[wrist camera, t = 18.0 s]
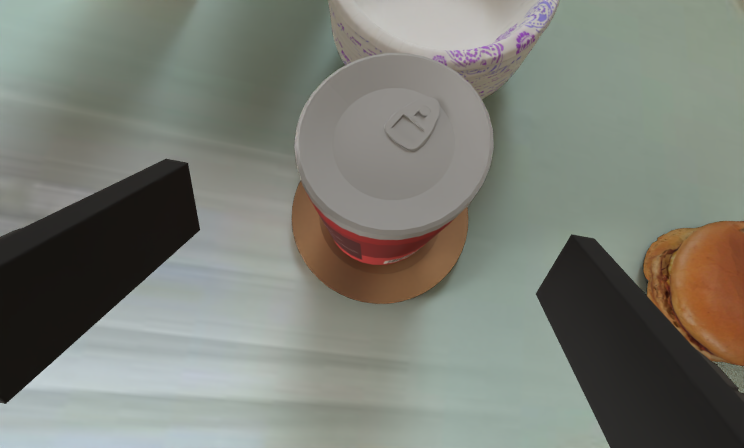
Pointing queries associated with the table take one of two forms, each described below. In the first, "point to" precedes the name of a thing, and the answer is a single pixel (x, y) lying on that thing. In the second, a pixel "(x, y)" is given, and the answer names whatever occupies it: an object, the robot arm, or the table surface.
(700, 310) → the burger
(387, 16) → the paper bowls
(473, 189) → the canned food
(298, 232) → the plate
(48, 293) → the robot arm
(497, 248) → the table surface
